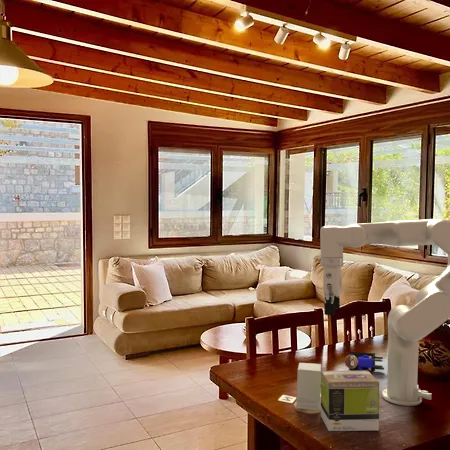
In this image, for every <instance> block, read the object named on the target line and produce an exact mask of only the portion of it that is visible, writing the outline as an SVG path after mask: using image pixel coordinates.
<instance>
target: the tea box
mask: <svg viewBox="0 0 450 450" xmlns="http://www.w3.org/2000/svg"><path fill="white" fill-rule="evenodd" d="M320 404H321V412H320V417H321V419H322V421H323V422H324V424H325V426H326V428H327V431H328V432H351V431H352V432H353V431H355V432H357V431H359V432H360V431H369V432H370V431H375V432H376V431H380V381H379V380H378V379H376V377H375V376H374V375H373V374H371V371H366V370H364V371H361V370H321V398H320Z"/></svg>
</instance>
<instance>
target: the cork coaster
mask: <svg viewBox="0 0 450 450" xmlns="http://www.w3.org/2000/svg"><path fill="white" fill-rule="evenodd" d="M293 408H294V410H296V411H298V412H299V413H301V414H307V415H313V414H315V415H316V414H319V413H321V403H320V410H319V411H317V410H308V409H300V408H297V401H294V402H293Z"/></svg>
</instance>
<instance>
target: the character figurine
mask: <svg viewBox="0 0 450 450" xmlns="http://www.w3.org/2000/svg"><path fill="white" fill-rule="evenodd" d="M383 360H384V357H383V356H376V353H375V352H373V353H372V352H361V351H360V352H359V351H358V352H357V351H348V355H346V356H345V358H344V364H345V367H347V368H348V369H349V370H352V371H365V370H366V371H369V372H375V371H376V370H378V371H379V370H382V371H384V370H385V367H384V366H383V365H380V364H377V365H376V362H379V363H382V362H384V361H383Z"/></svg>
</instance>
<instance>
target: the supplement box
mask: <svg viewBox="0 0 450 450" xmlns="http://www.w3.org/2000/svg"><path fill="white" fill-rule="evenodd" d="M297 367H298V368H297V374H296V375H297V382H296V386H297V387H296V398H297V399H296V402H297V408H300V409H308V410H317V411H319V410H320V404H321V398H320V394H321V371H322V364H321V363H310V362H308V363H307V362H299V363H298V366H297Z"/></svg>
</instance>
